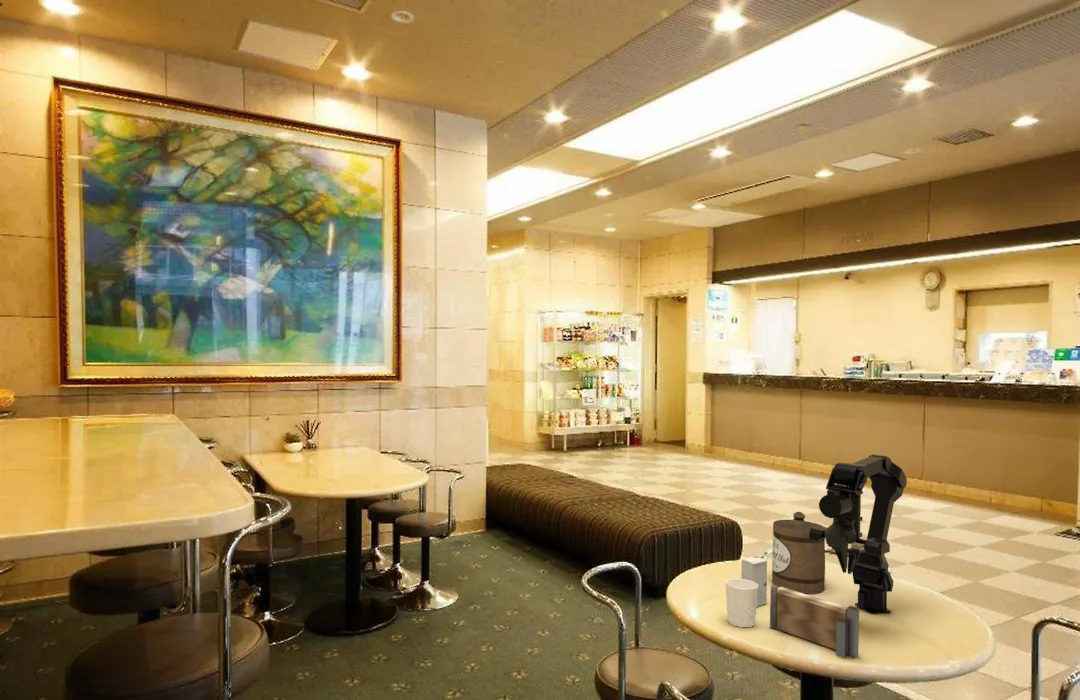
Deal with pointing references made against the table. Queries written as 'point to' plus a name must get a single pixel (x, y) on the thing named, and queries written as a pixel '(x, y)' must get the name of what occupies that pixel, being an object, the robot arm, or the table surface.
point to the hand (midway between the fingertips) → (847, 573)
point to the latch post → (848, 634)
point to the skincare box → (756, 576)
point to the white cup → (741, 602)
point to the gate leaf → (805, 615)
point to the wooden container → (797, 556)
